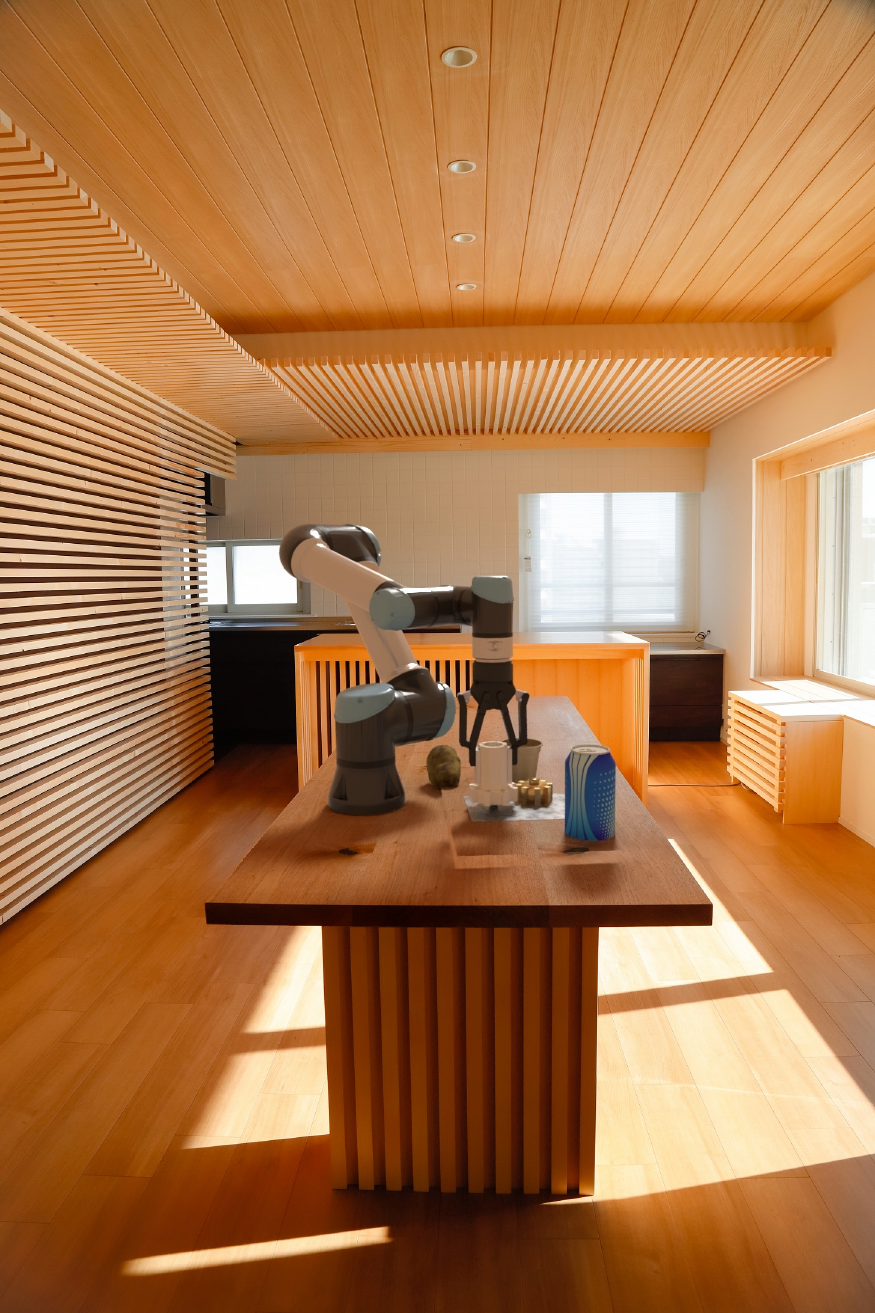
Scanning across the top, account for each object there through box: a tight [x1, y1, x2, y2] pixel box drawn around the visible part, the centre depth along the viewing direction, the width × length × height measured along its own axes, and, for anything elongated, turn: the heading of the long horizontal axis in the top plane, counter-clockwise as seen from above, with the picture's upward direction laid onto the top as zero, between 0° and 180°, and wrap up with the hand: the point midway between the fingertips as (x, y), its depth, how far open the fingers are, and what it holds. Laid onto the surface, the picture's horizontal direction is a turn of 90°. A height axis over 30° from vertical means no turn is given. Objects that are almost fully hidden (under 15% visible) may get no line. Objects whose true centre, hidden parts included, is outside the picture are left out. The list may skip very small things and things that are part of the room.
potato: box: [425, 744, 462, 790], centre depth 171 cm, size 8×13×8 cm, turn 170°
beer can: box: [564, 743, 617, 842], centre depth 136 cm, size 8×8×16 cm
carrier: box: [462, 777, 565, 823], centre depth 151 cm, size 22×16×6 cm
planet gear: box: [468, 740, 518, 806], centre depth 151 cm, size 9×9×10 cm
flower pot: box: [499, 737, 544, 784], centre depth 174 cm, size 9×9×9 cm
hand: (493, 782), depth 151 cm, fingers closed on planet gear, 5 cm apart
